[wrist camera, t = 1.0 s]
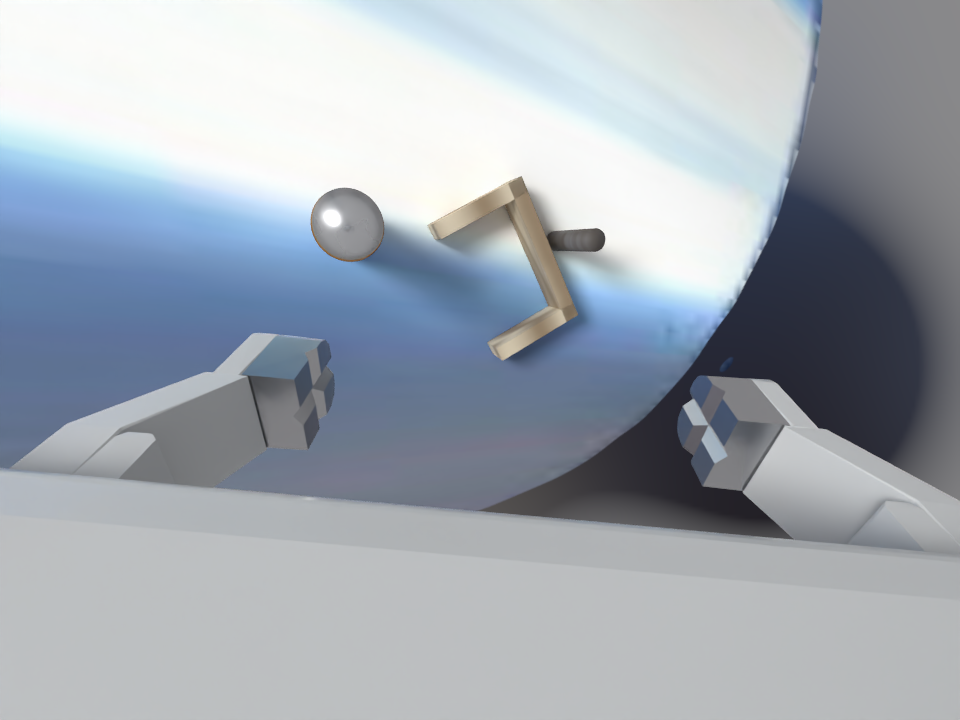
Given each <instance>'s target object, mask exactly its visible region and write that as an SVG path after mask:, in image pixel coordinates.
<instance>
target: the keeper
mask: <svg viewBox="0 0 960 720" xmlns="http://www.w3.org/2000/svg"><path fill="white" fill-rule="evenodd" d="M503 205H505V207H506V209H507V211H508V214H509V216H510V218H511V221H512V223H513V225H514V228H515V230H516V232H517V235H518V237H519V239H520V241H521V244H522V246H523V248H524V251H525V253H526V255H527V258H528V260H529V262H530V265H531V267H532V269H533V271H534V274H535V276H536V278H537V281H538V283H539V285H540V288H541V290H542V292H543V295H544V297H545V299H546V302H547V304H548V307H546V308H544V309H542V310H541V311H539V312H537V313H536V314H534V315H532V316H531V317H529V318H527V319H526V320H524V321H522V322H521V323H519V324H517V325H516V326H514V327H512V328H511V329H509V330H507V331H506V332H504V333H502V334H500V335H499V336H497V337H495V338H494V339H492V340H490V341H489V342H487V343H488V345H489V347H490V349H491V351H492V352H493V354H494V355H496V356H497V357H498V358H500V359H501V360H505V359H506V358H508V357H510V356H511V355H513V354H515V353H516V352H518V351H519V350H521V349H523V348H524V347H526V346H528V345H529V344H531V343H533V342H534V341H536V340H538V339H539V338H541V337H543V336H544V335H546V334H548V333H549V332H551V331H552V330H554V329H556V328H557V327H559V326H561V325H562V324H564V323H566V322H567V321H569V320H571V319H572V318H574V317H576V316H577V315H578V314H577V311H576V309H575V306H574V304H573V301H572V299H571V296H570V294H569V291H568V289H567V287H566V284H565V282H564V279H563V277H562V274H561V272H560V269H559V267H558V264H557V262H556V260H555V257H554V255H553V252H552V251H588V252H596V251H599V250H600V249H602V247H603V246H604V243H605V235H604V233H603V231H602V230H600V229H597V228H595V229H580V230H565V231H553V232H550V233H549V234H548V236H547V238H546V235H545V233H544V230H543V228H542V225H541V223H540V220H539V218H538V215H537V213H536V211H535V208H534V206H533V203H532V201H531V198H530V196H529V193H528V191H527V188H526V186H525V184H524V181H523V179H522V176H521V177H519V178H516V179H514V180H511V181H509V182H507V183H505V184H503V185H501V186H499V187H498V188H496V189H494V190H492V191H490V192H488V193H486V194H485V195H483V196H481V197H479V198H477V199H475V200H473V201H472V202H470V203H468V204H466V205H464V206H462V207H460V208H459V209H457V210H455V211H453V212H451V213H449V214H447V215H446V216H444V217H442V218H440V219H438V220H436V221H434V222H433V223H431V224H429V225H428V227H429V229H430V231H431V233H432V235H433V237H434V239H435V240H436V239H443V238H445V237H446V236H448V235H450V234H452V233H454V232H456V231H457V230H459V229H461V228H463V227H465V226H466V225H468V224H470V223H472V222H474V221H476V220H477V219H479V218H481V217H483V216H485V215H487V214H488V213H490V212H492V211H494V210H496V209H498V208H499V207H501V206H503Z"/></svg>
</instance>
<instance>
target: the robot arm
mask: <svg viewBox="0 0 960 720" xmlns="http://www.w3.org/2000/svg"><path fill="white" fill-rule="evenodd" d="M330 359H331V352H330V346H329V344H328V342H327V341H326V340H322V339H313V338H304V337H295V336H287V335H278V334H268V333H253V334H252V335H251V336H250V337H249V338H248V339H247V340H246V341H245V342H244V343H243V344H242V345H241V346H240V347H239V348H238V349H236V350H235V351H234V352H233V353H232V354H231V355H230V356H229V357H228V358H227V359H226V360H225V361H224V362H223V363H222V364H221V365H220V366H219V367H218V368H217V369H216V370H215V371H214V372H213V373H211V372H204V373H201V374H199V375H196V376H193V377H191V378H188V379H185V380H183V381H180V382H177V383H175V384H172V385H169V386H167V387H164V388H161V389H159V390H156V391H153V392H151V393H148V394H145V395H143V396H140V397H137V398H135V399H132V400H129V401H127V402H124V403H121V404H119V405H116V406H113V407H111V408H108V409H105V410H103V411H100V412H97V413H95V414H92V415H89V416H87V417H84V418H81V419H79V420H76V421H73V422H71V423H68V424H66V425H65V426H63V427H62V428H61V429H60V430H58V431H57V432H56V433H54V434H53V435H52V436H51V437H49V438H48V439H47V440H45V441H44V442H43V443H42V444H40V445H39V446H38V447H36V448H35V449H34V450H33V451H31V452H30V453H29V454H27V455H26V456H25V457H24V458H22V459H21V460H20V461H18V462H17V463H16V464H15V465H13V466H12V467H11V468H9V469H5V468H0V720H960V501H959V500H957V499H955V498H953V497H951V496H949V495H948V494H946V493H944V492H942V491H940V490H938V489H936V488H934V487H933V486H931V485H929V484H927V483H925V482H923V481H921V480H919V479H917V478H916V477H914V476H912V475H910V474H908V473H906V472H904V471H903V470H901V469H899V468H897V467H895V466H893V465H891V464H890V463H888V462H886V461H884V460H882V459H880V458H878V457H876V456H875V455H872V454H871V453H869V452H867V451H865V450H864V449H862V448H860V447H858V446H856V445H854V444H852V443H850V442H849V441H847V440H845V439H843V438H841V437H839V436H837V435H835V434H834V433H831V432H830V431H828V430H826V429H818V428H817V426H816V425H815V424H814V423H813V422H812V421H811V420H810V419H809V418H808V417H807V416H806V415H805V413H804V412H803V411H802V410H801V409H800V408H799V407H798V406H797V405H796V404H795V403H794V402H793V400H792V399H791V398H790V397H789V396H788V395H787V394H786V393H785V392H784V391H783V390H782V389H781V388H780V387H779V385H778V384H777V383H775V382H773V381H771V380H762V379H743V378H728V377H712V376H698V378H697V379H696V380H695V381H694V382H693V384H692V387H691V389H690V393H691V395H692V397H693V399H692V400H691V401H690V402H688V403H687V404H685V405H684V406H683V407H682V410H681V412H680V415H679V417H678V427H677V430H678V435H679V439H680V442H681V444H682V446H683V447H684V448H685V449H686V450H688V451H689V452H690V453H691V454H693V455H694V456H693V458H692V461H691V464H692V466H693V468H694V470H695V472H696V474H697V476H698V478H699V480H700V482H701V484H702V486H707V487H714V488H723V489H731V490H740V491H743V493H744V494H745V495H746V496H747V497H748V498H749V499H751V501H753V502H754V503H755V504H756V505H757V506H758V507H759V508H760V509H761V510H763V511H764V512H765V513H766V514H767V515H768V516H769V517H770V518H771V519H772V520H774V521H775V522H776V523H777V524H778V525H779V526H780V527H781V528H782V529H784V530H785V531H786V532H787V533H788V534H789V535H790V536H791V537H792V538H793V539H795V540H788V539H778V538H767V537H756V536H746V535H734V534H724V533H712V532H702V531H691V530H679V529H669V528H658V527H647V526H636V525H626V524H614V523H603V522H592V521H581V520H570V519H558V518H547V517H536V516H525V515H514V514H502V513H491V512H480V511H469V510H458V509H446V508H435V507H424V506H413V505H402V504H391V503H380V502H369V501H358V500H347V499H335V498H324V497H313V496H302V495H291V494H280V493H269V492H258V491H247V490H236V489H225V488H214V486H216V485H217V484H219V483H220V482H222V481H223V480H224V479H226V478H227V477H229V476H230V475H231V474H233V473H234V472H236V471H237V470H239V469H240V468H241V467H243V466H244V465H246V464H247V463H248V462H250V461H251V460H253V459H254V458H255V457H257V456H258V455H260V454H261V453H263V452H264V451H265V450H267V448H283V449H299V450H308V449H309V447H310V445H311V443H312V441H313V440H314V438H315V436H316V434H317V432H318V430H319V421H318V419H320V418H322V417H323V416H325V415H327V413H328V411H329V409H330V407H331V405H332V401H333V396H334V385H335V383H334V374H333V373H332V372H331V371H330V370H329V368H328V367H327V366H326V365H327V364H328V362H329V360H330ZM266 447H267V448H266Z"/></svg>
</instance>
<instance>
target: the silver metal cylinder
mask: <svg viewBox="0 0 960 720" xmlns="http://www.w3.org/2000/svg"><path fill="white" fill-rule="evenodd" d="M311 230H312V233H313V236H314V238H315V240H316V242H317V243H318V245H319V246H320V247H321V248H322V250H323V251H325V252H326V253H327V254H328V255H330V256H332V257H334V258H336V259H338V260H341V261H348V262H354V261H360V260H363V259H365V258H367V257H369V256H370V255H372V254H373V253H374V252H375V251H376V250H377V249H378V247H379V246H380V244H381V242H382V239H383V235H384V221H383V217H382V214H381V212H380V210H379V208H378V206H377V205H376V204H375V202H374V201H373V200H372V199H371V198H370V197H369V196H367V195H366V194H364V193H362V192H360V191H358V190H355V189H351V188H338V189H334V190H331V191H329V192H327V193H326V194H324V195H323V196H322V197H321V198H320V199H319V200H318V201H317V202H316V204H315V206H314V208H313V210H312V214H311Z"/></svg>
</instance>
